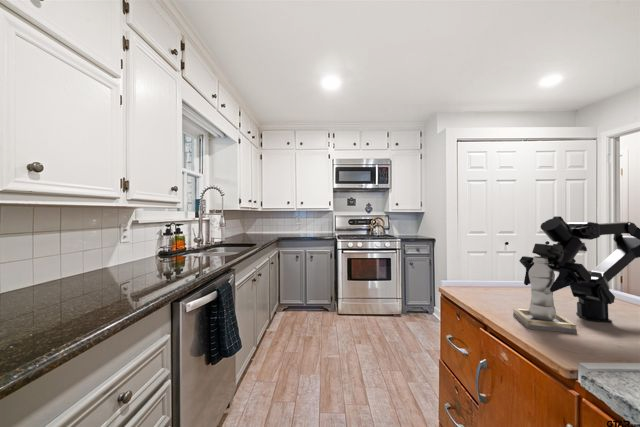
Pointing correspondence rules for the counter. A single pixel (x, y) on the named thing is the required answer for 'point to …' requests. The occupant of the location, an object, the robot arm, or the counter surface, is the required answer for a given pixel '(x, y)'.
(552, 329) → the beige flat square frame
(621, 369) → the counter surface
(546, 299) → the plastic bottle
